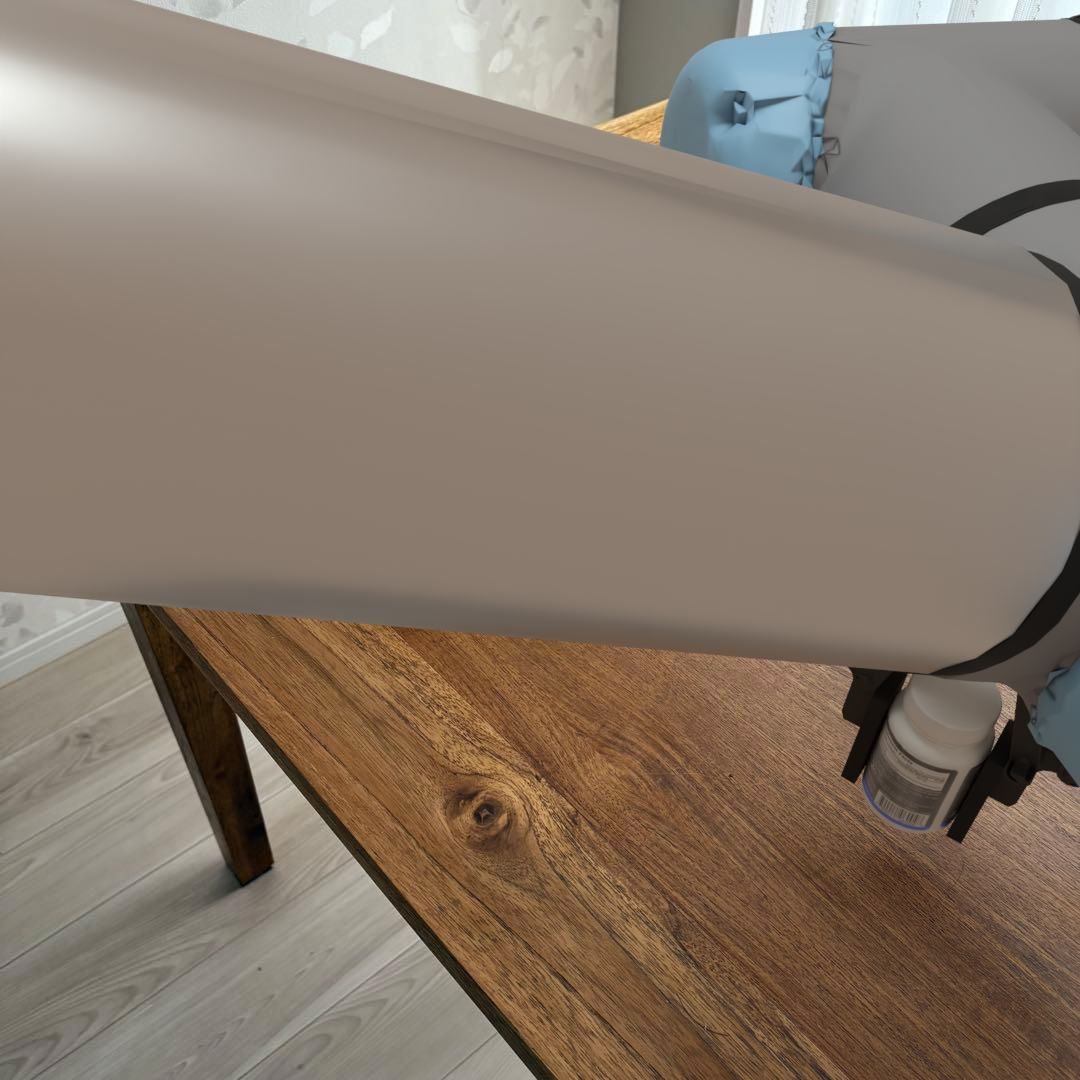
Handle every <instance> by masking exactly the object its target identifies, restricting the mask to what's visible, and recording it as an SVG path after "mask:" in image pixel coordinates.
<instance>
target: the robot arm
mask: <svg viewBox="0 0 1080 1080" xmlns="http://www.w3.org/2000/svg"><path fill="white" fill-rule="evenodd" d="M834 24H835V22H834V21H820V22H817V23H816V24H815V25H814V26H813V27H812V28H803V29H795V30H788V31H780V32H772V33H763V34H755V35H747V36H738V37H730V38H723V39H720V40H716V41H714V42H711V43H710V44H708V45H707V46H705V47H703V48H701V49H700V50H698V51H696V52H695V53H694V55H693V56H691V57H690V58H689V60H688V61H687V63H686V64H684V66H683V67H682V69H681V70H680V72H679V74H678V76H677V78H676V80H675V82H674V84H673V87H672V88H671V91H670V93H669V97H668V100H667V102H666V106H665V110H664V114H663V119H662V124H661V131H660V137H659V144H653V143H650V142H646V141H643V140H640V139H635V138H632V137H628V136H624V135H620V134H617V133H614V132H610V131H607V130H603V129H599V128H596V127H592V126H589V125H585V124H582V123H577V122H574V121H571V120H567V119H564V118H560V117H556V116H553V115H548V114H545V113H542V112H538V111H535V110H531V109H529V108H523V107H520V106H517V105H513V104H509V103H506V102H502V101H498V100H495V99H492V98H488V97H484V96H480V95H477V94H474V93H470V92H466V91H463V90H459V89H456V88H451V87H448V86H444V85H440V84H437V83H434V82H430V81H428V80H422V79H421V78H420V79H419V78H416V77H412V76H409V75H405V74H401V73H398V72H394V71H391V70H387V69H383V68H380V67H376V66H373V65H370V64H366V63H365V64H364V63H361V62H358V61H354V60H350V59H347V58H344V57H340V56H336V55H333V54H329V53H325V52H322V51H318V50H315V49H311V48H308V47H304V46H300V45H297V44H294V43H290V42H286V41H282V40H279V39H275V38H273V37H272V38H271V37H269V36H264V35H260V34H257V33H253V32H250V31H246V30H243V29H239V28H236V27H232V26H228V25H225V24H221V23H218V22H214V21H211V20H207V19H203V18H199V17H196V16H193V15H190V14H189V15H188V14H185V13H182V12H178V11H174V10H171V9H167V8H163V7H161V6H160V7H159V6H157V5H153V4H149V3H145V2H142V1H138V0H0V592H1V593H11V594H19V595H20V594H21V595H31V596H32V595H33V596H45V597H56V598H65V599H66V598H67V599H79V600H88V601H89V600H90V601H101V602H111V603H112V602H113V603H124V604H136V605H146V606H147V605H148V606H158V607H168V608H178V609H179V608H180V609H190V610H201V611H202V610H203V611H211V612H212V611H214V612H223V613H225V612H226V613H237V614H249V615H260V616H270V617H280V618H294V619H304V620H316V621H327V622H337V623H338V622H339V623H349V624H361V625H370V626H371V625H373V626H383V627H395V628H405V629H416V630H417V629H419V630H427V631H429V630H430V631H440V632H441V631H442V632H449V633H451V632H452V633H461V634H473V635H483V636H484V635H485V636H495V637H496V636H497V637H507V638H508V637H510V638H518V639H519V638H520V639H529V640H541V641H551V642H552V641H553V642H563V643H574V644H575V643H576V644H587V645H588V644H589V645H596V646H597V645H598V646H610V647H619V648H633V649H643V650H654V651H666V652H676V653H677V652H678V653H689V654H697V655H698V654H699V655H700V654H701V655H710V656H711V655H712V656H721V657H722V656H723V657H731V658H732V657H734V658H744V659H756V660H765V661H766V660H767V661H779V662H790V663H800V664H812V665H824V666H836V667H844V668H845V667H846V668H848V669H849V671H850V672H851V675H852V680H851V684H850V686H849V690H848V692H847V695H846V697H845V700H844V702H843V705H842V708H841V714H842V719H843V720H845V721H847V722H849V723H851V724H853V725H854V726H856V727H858V731H857V733H856V736H855V739H854V741H853V744H852V746H851V749H850V751H849V753H848V756H847V758H846V761H845V764H844V766H843V769H842V771H841V774H840V777H841V778H843V779H844V780H846V781H848V782H850V783H852V784H853V785H855V784H856V783H857V781H858V779H859V777H860V776H861V774H863V772H864V769H865V767H866V764H867V762H868V759H869V757H870V754H871V752H872V749H873V747H874V745H875V741H876V739H877V737H878V734H879V732H880V730H881V728H882V725H883V722H884V720H885V717H886V714H887V711H888V709H889V706H890V704H891V702H892V701H893V699H894V698H895V696H896V695H897V694H898V693H899V692H900V691H901V690H902V689H903V688H904V685H905V682H906V680H907V678H908V675H912V674H918V675H931V676H935V677H939V678H943V679H951V680H962V681H974V682H993V683H995V684H1002V685H1005V686H1007V687H1008V688H1009V689H1011V690H1013V691H1014V692H1015V693H1016V702H1015V709H1014V718H1013V719H1012V718H1009V719H1008V720H1007V721H1006V724H1005V725H1004V728H1003V729H1002V731H1001V733H1000V735H999V736H998V738H997V740H996V742H995V743H994V745H993V748H992V750H991V753H990V755H989V756H988V758H987V760H986V762H985V764H984V766H983V768H982V769H981V771H980V773H979V775H978V777H977V779H976V781H975V782H974V784H973V786H972V787H971V789H970V791H969V793H968V795H967V797H966V799H965V800H964V802H963V804H962V806H961V808H960V810H959V812H958V813H957V815H956V816H955V818H954V819H953V821H952V822H951V824H950V826H949V829H948V830H947V832H946V834H945V837H946V838H949V839H951V840H952V841H954V842H955V843H958V844H960V845H962V843H963V841H964V840H965V838H966V836H967V834H968V833H969V831H970V829H971V827H972V826H973V824H974V822H975V821H976V819H977V817H978V815H979V814H980V812H981V810H982V808H983V806H984V805H985V804H986V802H987V800H988V798H990V799H992V800H994V801H996V802H998V803H1000V804H1001V805H1003V806H1005V807H1006V808H1010V807H1012V806H1014V805H1016V804H1017V803H1018V801H1019V800H1020V798H1021V797H1022V795H1023V794H1024V792H1025V790H1026V789H1027V787H1029V786H1030V785H1032V783H1033V782H1034V779H1035V777H1036V776H1037V775H1036V774H1037V773H1039V772H1051V773H1055V774H1056V777H1057V778H1058V780H1059V781H1060V782H1062V783H1063V784H1064V785H1066V786H1068V787H1071V788H1080V14H1076V15H1072V16H1070V17H1061V18H1059V19H1033V20H1032V19H1031V20H1005V21H1004V20H1003V21H975V22H973V21H972V22H971V21H970V22H947V23H945V22H944V23H943V22H942V23H916V24H912V23H911V24H885V25H884V24H883V25H856V26H835V25H834Z"/></svg>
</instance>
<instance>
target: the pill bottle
mask: <svg viewBox="0 0 1080 1080" xmlns="http://www.w3.org/2000/svg"><path fill="white" fill-rule="evenodd" d="M1002 710H1003V697H1002V693H1001V691H1000V689H999V687H998V685H997V683H993V682H974V681H962V680H951V679H943V678H939V677H935V676H931V675H918V674H911V677H910V679H909V680H908V682H907V684H906V686H905V687H903V688H902V689H901V691H900V692H899V693H898V694H897V695H896V696H895V698H894V699H893V701H892V702H891V704H890V706H889V709H888V711H887V714H886V717H885V720H884V722H883V725H882V728H881V730H880V732H879V734H878V737H877V739H876V741H875V745H874V747H873V749H872V752H871V754H870V757H869V759H868V762H867V764H866V766H865V768H864V769H863V771H862V776H861V790H862V793H863V797H864V799H865V801H866V803H867V805H868V806H869V808H870V809H871V811H872V812H873V813H874V814H875V816H876V817H877V818H879V819H880V820H881V821H883V822H884V823H885V824H887V825H889V826H890V827H892V828H893V829H896V830H898V831H901V832H904V833H907V834H916V835H917V834H918V835H925V834H932V833H936V832H938V831H941V830H943V829H945V828H946V827H948V826H949V825H951V824H952V823H953V821H954V819H955V817H956V815H957V813H958V812H959V810H960V808H961V806H962V804H963V802H964V800H965V799H966V797H967V795H968V793H969V791H970V789H971V787H972V786H973V784H974V782H975V781H976V779H977V777H978V775H979V773H980V771H981V769H982V768H983V766H984V764H985V762H986V760H987V758H988V756H989V755H990V753H991V751H992V749H993V747H994V745H995V739H996V728H995V727H996V724H997V722H998V721H999V719H1000V716H1001V713H1002Z"/></svg>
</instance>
